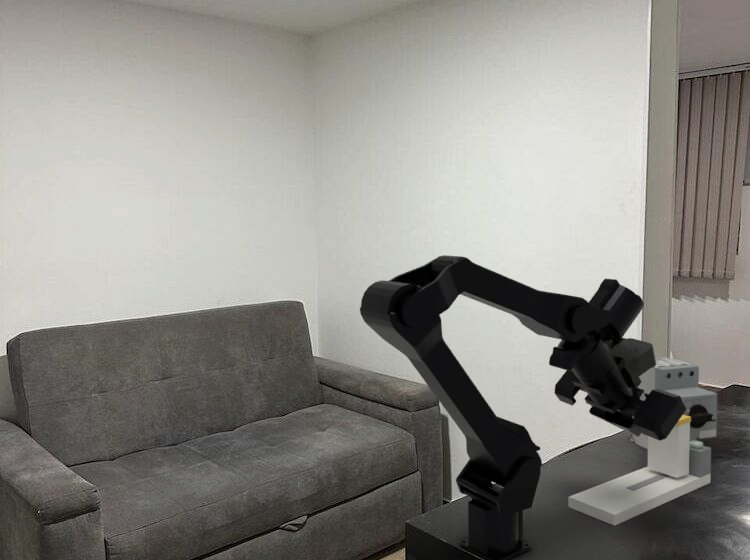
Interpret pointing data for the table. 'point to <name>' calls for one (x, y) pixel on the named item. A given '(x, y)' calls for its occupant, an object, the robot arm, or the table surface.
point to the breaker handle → (671, 450)
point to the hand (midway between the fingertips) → (638, 433)
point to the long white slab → (643, 489)
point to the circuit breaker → (682, 396)
